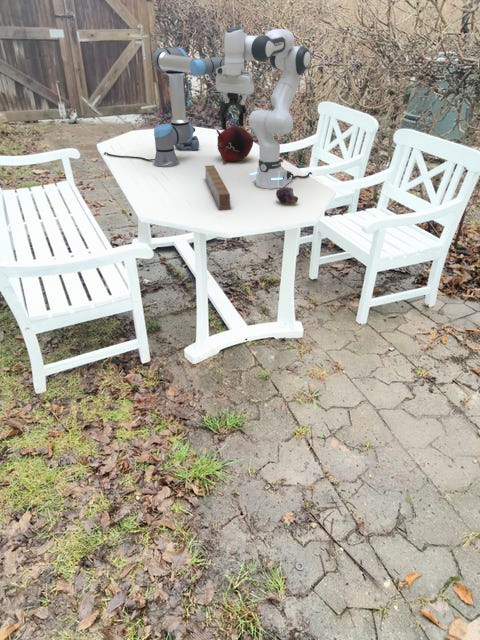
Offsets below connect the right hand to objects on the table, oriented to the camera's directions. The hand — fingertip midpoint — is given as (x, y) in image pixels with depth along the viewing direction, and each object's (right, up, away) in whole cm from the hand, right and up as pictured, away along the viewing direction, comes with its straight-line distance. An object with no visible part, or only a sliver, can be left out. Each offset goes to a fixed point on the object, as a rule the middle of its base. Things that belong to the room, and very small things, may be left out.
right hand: (234, 103), depth 210 cm
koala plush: (-36, +24, +118) cm, 126 cm away
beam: (-10, -32, +36) cm, 49 cm away
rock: (+26, -41, +22) cm, 53 cm away
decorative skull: (-1, +7, +92) cm, 92 cm away
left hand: (-2, +10, +49) cm, 50 cm away
